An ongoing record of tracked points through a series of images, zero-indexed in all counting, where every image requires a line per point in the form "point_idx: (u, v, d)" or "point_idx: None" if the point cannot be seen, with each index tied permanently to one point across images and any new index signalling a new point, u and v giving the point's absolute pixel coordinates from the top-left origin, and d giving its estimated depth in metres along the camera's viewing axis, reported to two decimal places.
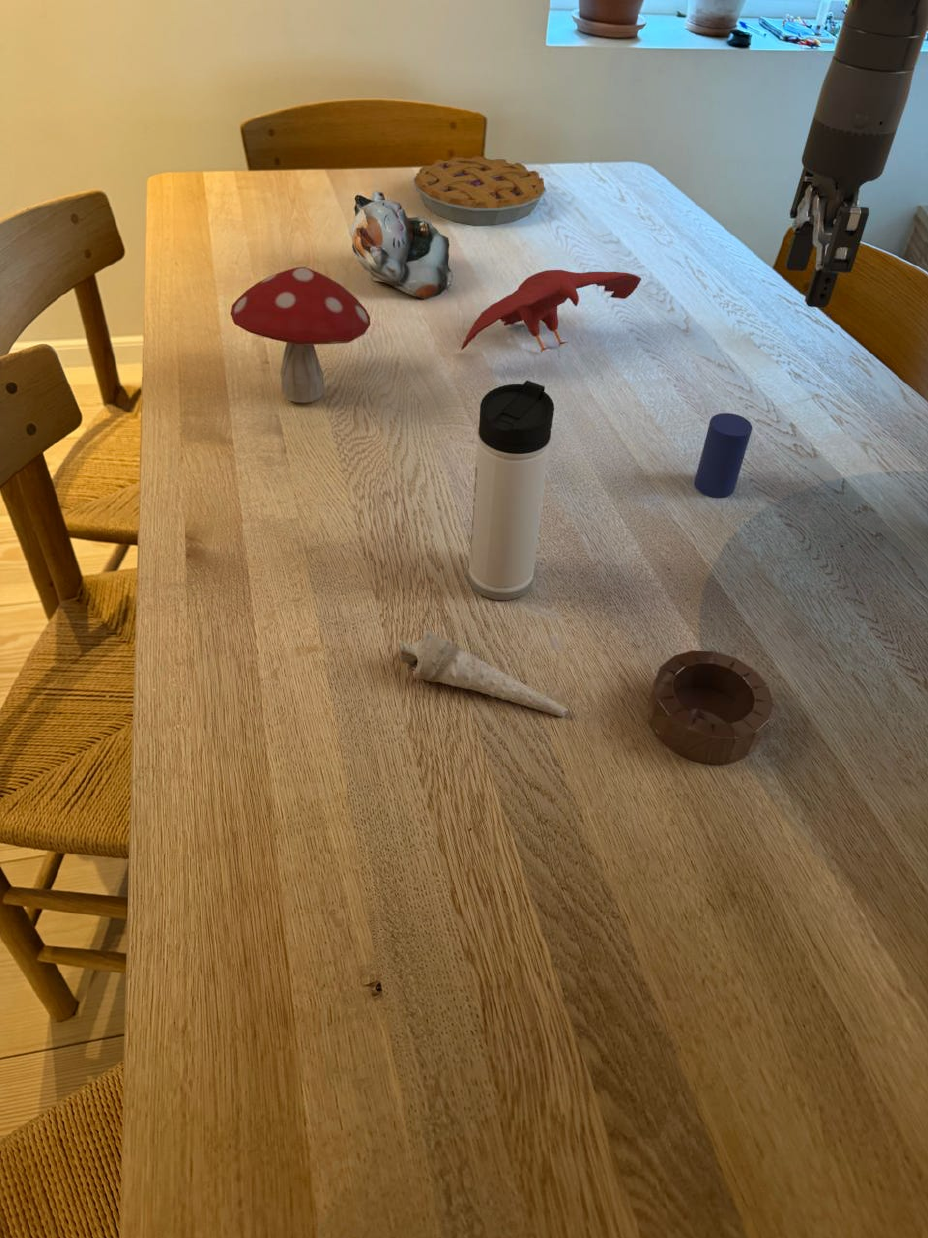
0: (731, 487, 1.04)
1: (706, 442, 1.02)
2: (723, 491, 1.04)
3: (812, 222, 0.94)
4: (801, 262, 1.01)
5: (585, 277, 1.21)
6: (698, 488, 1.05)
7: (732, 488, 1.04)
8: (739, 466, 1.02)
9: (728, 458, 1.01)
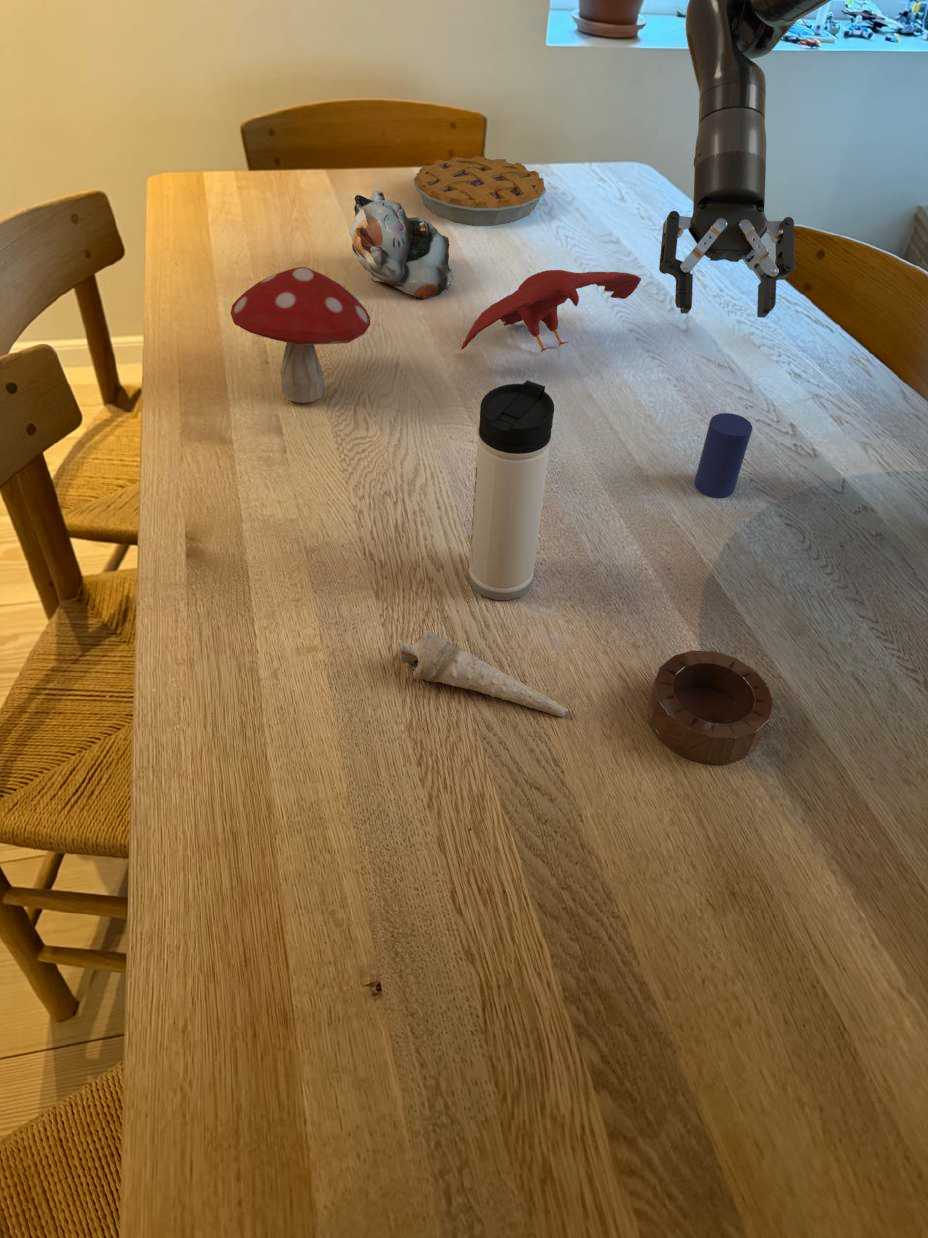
0: (731, 487, 1.04)
1: (706, 442, 1.02)
2: (723, 491, 1.04)
3: (727, 259, 1.05)
4: (761, 306, 1.04)
5: (585, 277, 1.21)
6: (698, 488, 1.05)
7: (732, 488, 1.04)
8: (739, 466, 1.02)
9: (728, 458, 1.01)
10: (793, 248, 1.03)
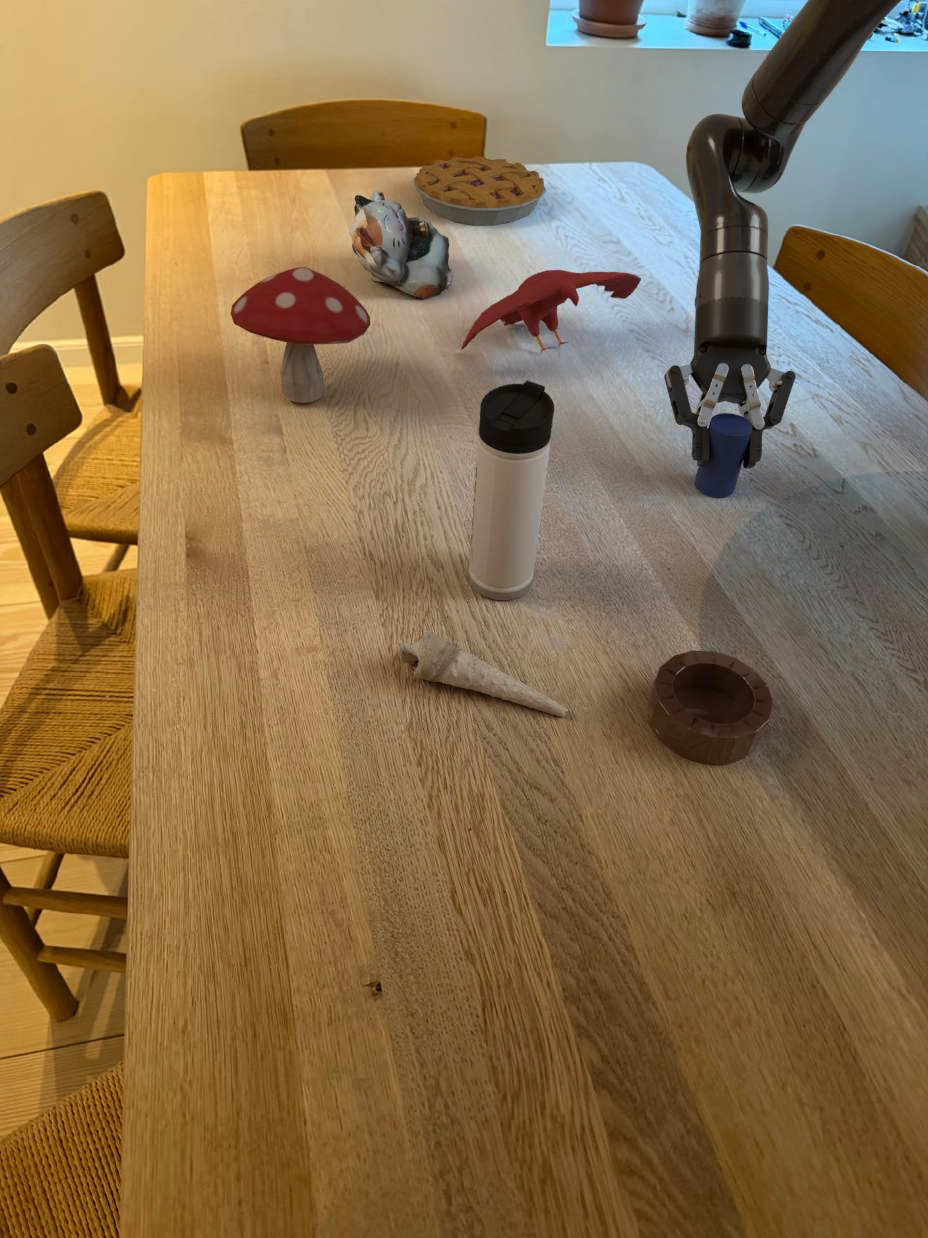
0: (731, 487, 1.04)
1: None
2: (723, 491, 1.04)
3: None
4: (747, 458, 1.01)
5: (585, 277, 1.21)
6: (698, 488, 1.05)
7: (732, 488, 1.04)
8: (739, 466, 1.02)
9: (728, 458, 1.01)
10: (785, 403, 1.01)
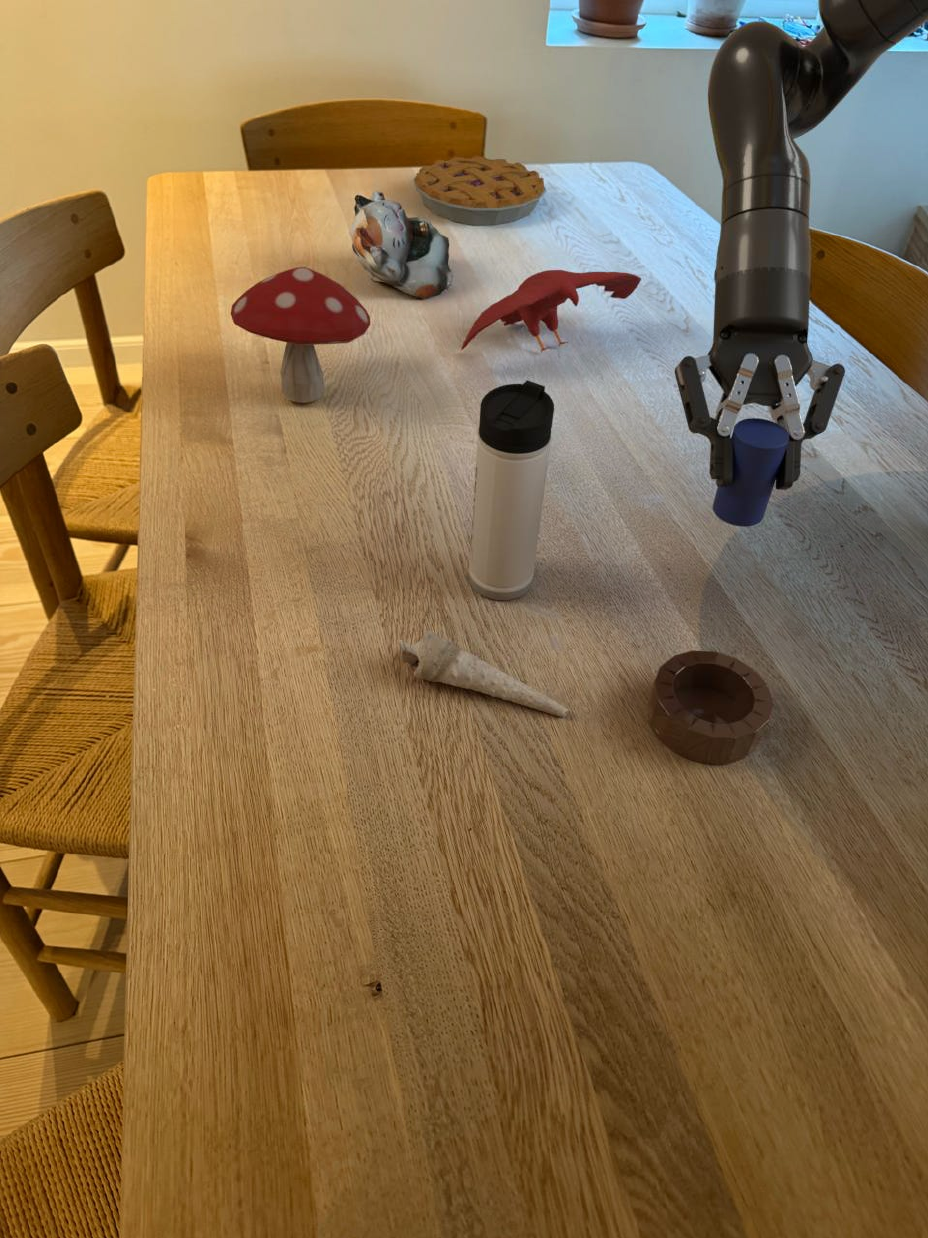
0: (760, 513, 0.81)
1: None
2: (750, 518, 0.81)
3: None
4: (781, 477, 0.78)
5: (585, 277, 1.21)
6: (717, 514, 0.82)
7: (761, 515, 0.81)
8: (771, 487, 0.79)
9: (758, 477, 0.78)
10: (832, 405, 0.78)
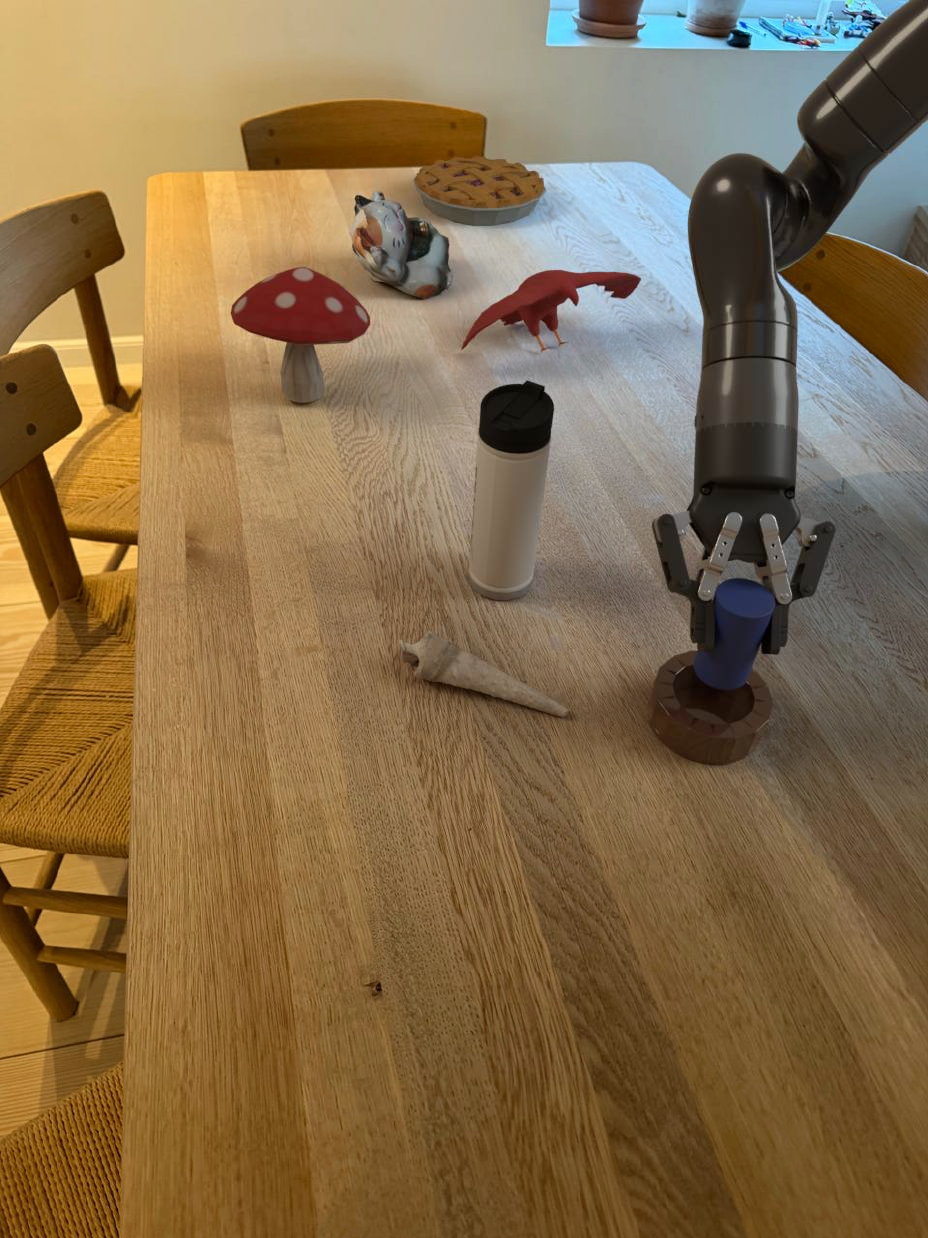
0: (745, 676, 0.75)
1: None
2: (733, 682, 0.75)
3: (742, 559, 0.74)
4: (767, 642, 0.72)
5: (585, 277, 1.21)
6: (699, 675, 0.76)
7: (746, 677, 0.75)
8: (756, 651, 0.73)
9: (742, 644, 0.72)
10: (821, 567, 0.72)
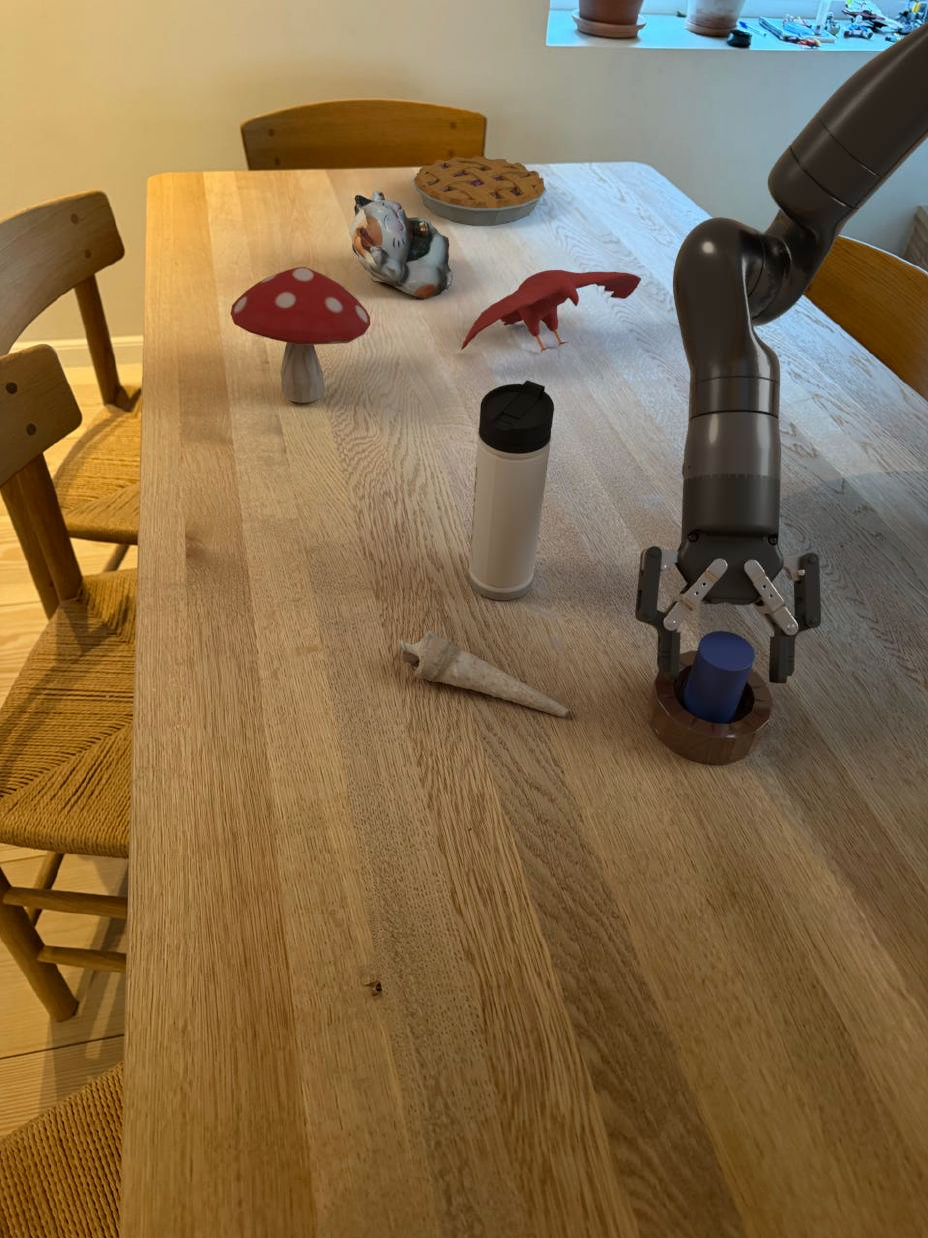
0: (727, 723, 0.79)
1: (694, 670, 0.77)
2: None
3: None
4: (775, 672, 0.76)
5: (585, 277, 1.21)
6: None
7: None
8: (737, 700, 0.77)
9: (723, 694, 0.76)
10: (818, 596, 0.75)
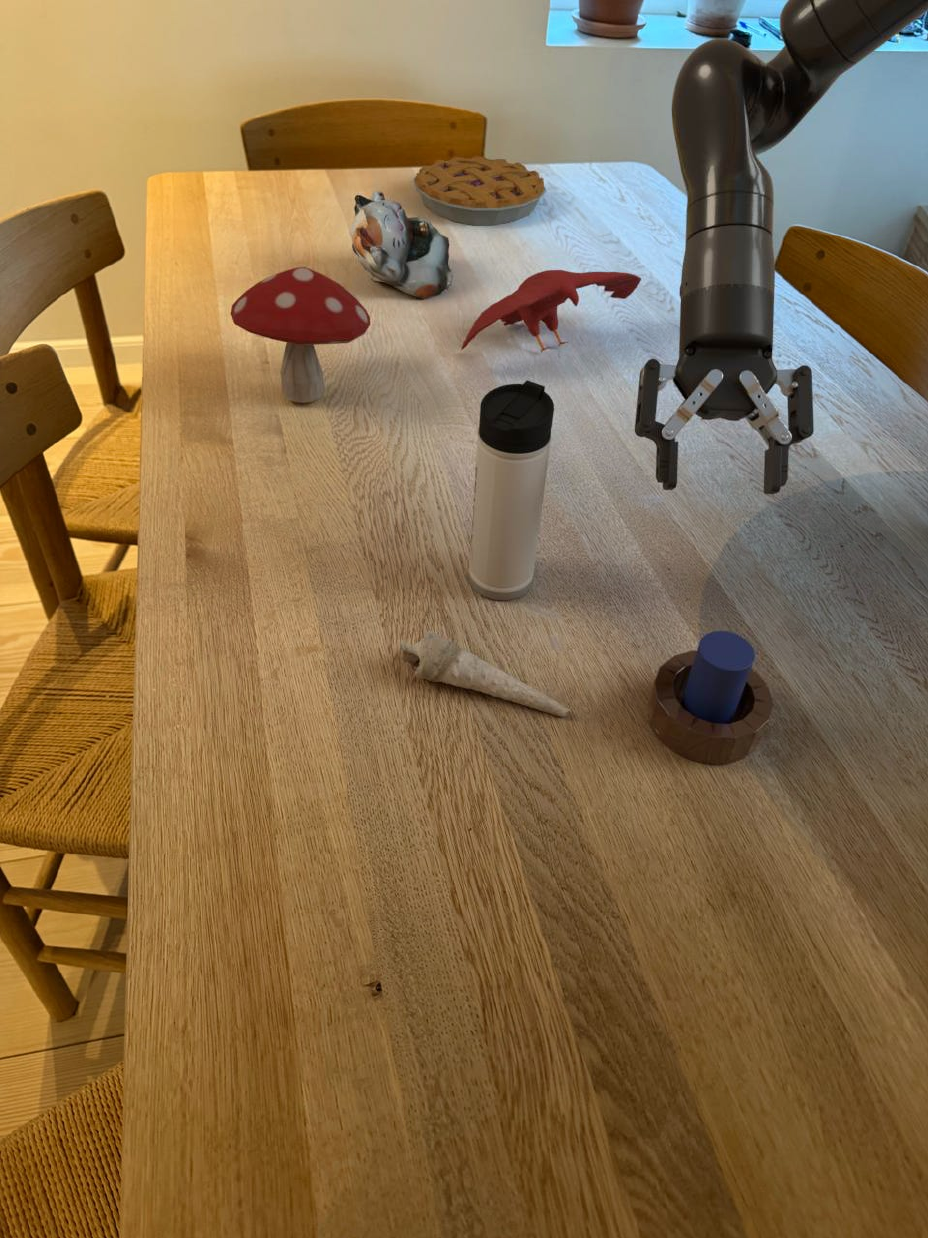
0: (727, 723, 0.79)
1: (694, 670, 0.77)
2: None
3: (724, 417, 0.80)
4: (769, 481, 0.79)
5: (585, 277, 1.21)
6: None
7: None
8: (737, 700, 0.77)
9: (723, 694, 0.76)
10: (811, 406, 0.78)
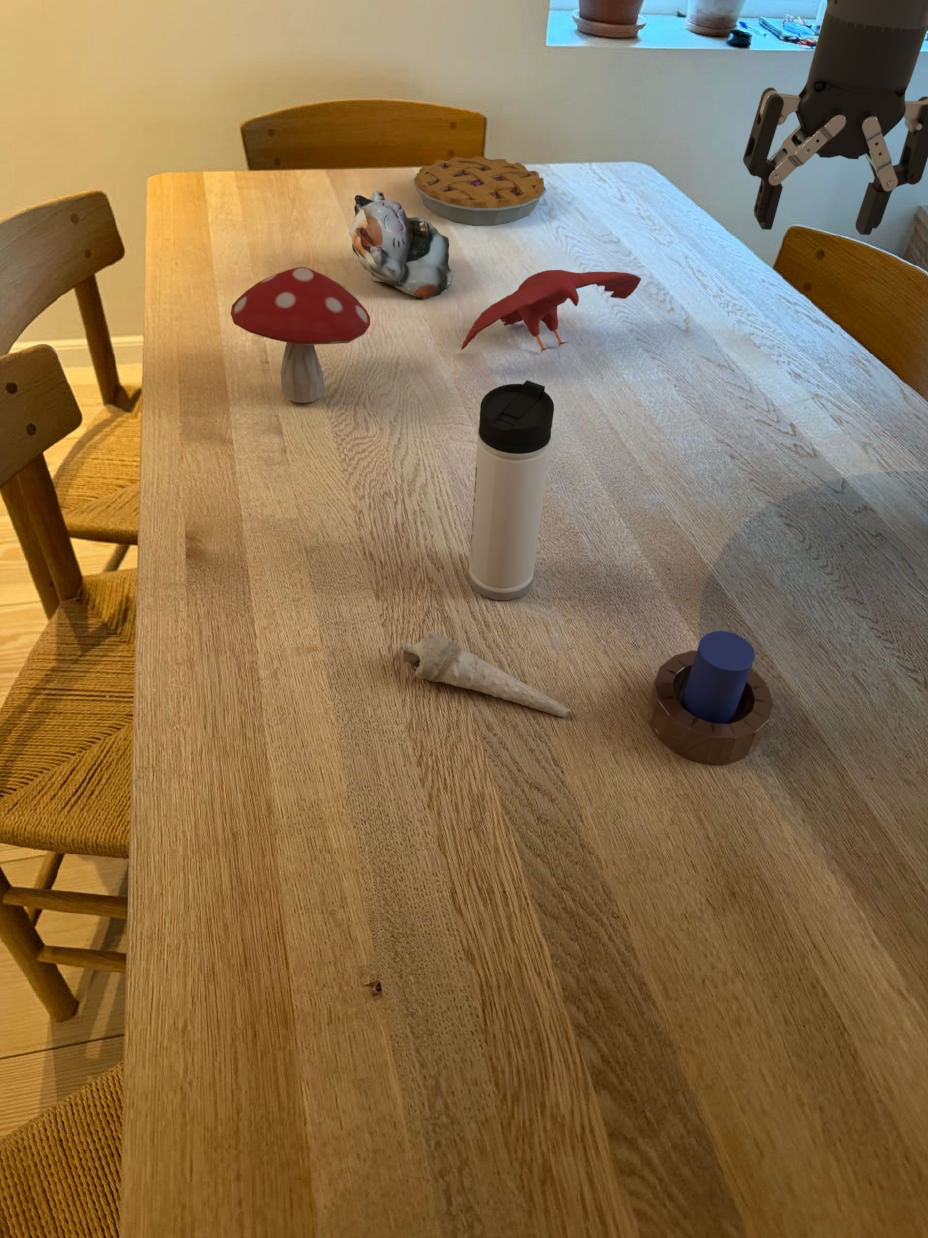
0: (727, 723, 0.79)
1: (694, 670, 0.77)
2: None
3: None
4: (862, 222, 0.81)
5: (585, 277, 1.21)
6: None
7: None
8: (737, 700, 0.77)
9: (723, 694, 0.76)
10: (927, 152, 0.77)
